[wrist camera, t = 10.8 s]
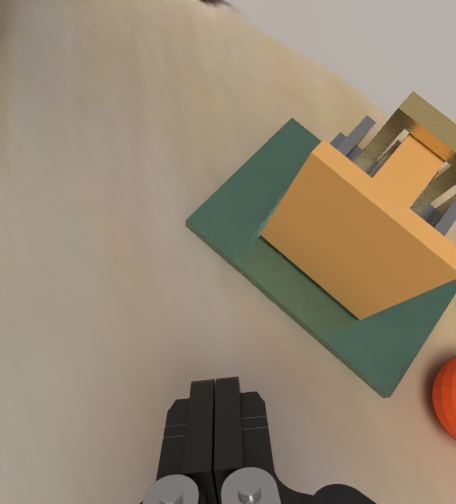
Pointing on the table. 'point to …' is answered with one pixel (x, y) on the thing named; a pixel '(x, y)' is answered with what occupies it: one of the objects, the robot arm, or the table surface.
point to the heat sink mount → (299, 283)
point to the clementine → (446, 396)
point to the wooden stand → (363, 228)
